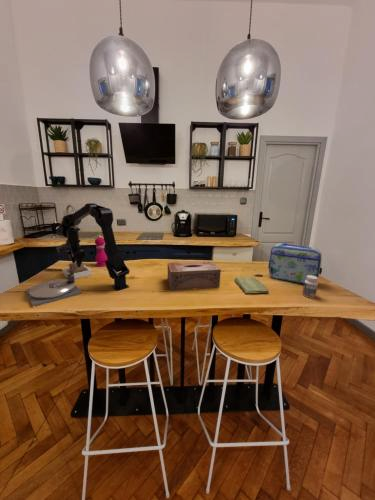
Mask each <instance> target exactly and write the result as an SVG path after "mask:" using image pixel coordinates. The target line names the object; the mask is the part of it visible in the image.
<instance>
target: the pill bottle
mask: <svg viewBox="0 0 375 500" xmlns="http://www.w3.org/2000/svg"><path fill="white" fill-rule="evenodd" d="M306 278H307V280H305V282H304V284H303V288H302V295H303V296H304V297H305V296H306V297H305V298H308V297H309V298H308V299H314V297H315V298H316V296H317V290H318V286H319V282H318V281H319V280H318V279H319V277H318V278H317V277H316V276H312V275H307V277H306Z"/></svg>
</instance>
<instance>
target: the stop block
mask: <svg viewBox="0 0 375 500" xmlns="http://www.w3.org/2000/svg"><path fill="white" fill-rule="evenodd" d="M84 265H85V264H84V263H83V262H82V263H81V266H80V267H78V266H77V263H76V262H75V263H72V262H71V263H68V268H70V273H73V274H74V273H78V272H83V271H84Z"/></svg>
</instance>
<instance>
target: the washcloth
mask: <svg viewBox="0 0 375 500" xmlns="http://www.w3.org/2000/svg"><path fill="white" fill-rule="evenodd" d="M234 283H235V284H237V286H239V287H240V289H241V290H242V291H243V292H244V293H245V294H246V295H248V294H250V295H251V294H263V293H269V288H268V287H267V286H266V285H265V284H264V283H263V282H261V281H260V279H257V277H254V276H247V277H246V276H245V277H243V276H236V277H235V278H234Z"/></svg>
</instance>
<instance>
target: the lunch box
mask: <svg viewBox="0 0 375 500" xmlns="http://www.w3.org/2000/svg"><path fill="white" fill-rule="evenodd" d="M269 255H270V256H269V259H268V267H267V268H268V271H269V272H268V273H269V275H270V277H271V278H272V279H275V280H283V281H288V282H294V283H298V284H303V285H304V282H305V280H307V278H306V277H307V275H312V276H316V277H317V278H318V279H319V276H320V270H321V266H322V252H321V251H320V250H319V249H318V248H315V247H312V246H307V245H300V244H299V245H298V244H291V243H287V242H284V243H277V244H275V246H274V245H273V247H272V248H271V250H270V254H269Z"/></svg>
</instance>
